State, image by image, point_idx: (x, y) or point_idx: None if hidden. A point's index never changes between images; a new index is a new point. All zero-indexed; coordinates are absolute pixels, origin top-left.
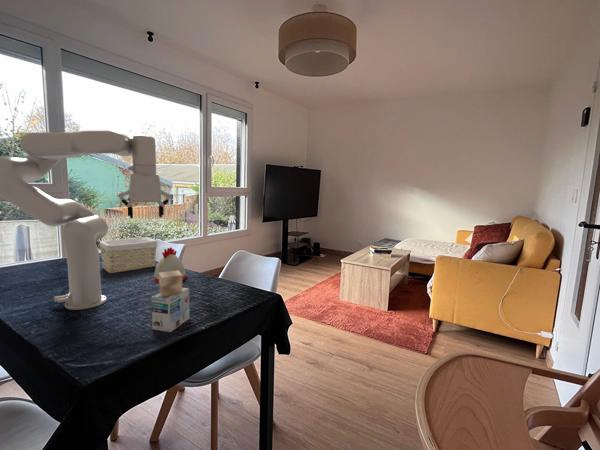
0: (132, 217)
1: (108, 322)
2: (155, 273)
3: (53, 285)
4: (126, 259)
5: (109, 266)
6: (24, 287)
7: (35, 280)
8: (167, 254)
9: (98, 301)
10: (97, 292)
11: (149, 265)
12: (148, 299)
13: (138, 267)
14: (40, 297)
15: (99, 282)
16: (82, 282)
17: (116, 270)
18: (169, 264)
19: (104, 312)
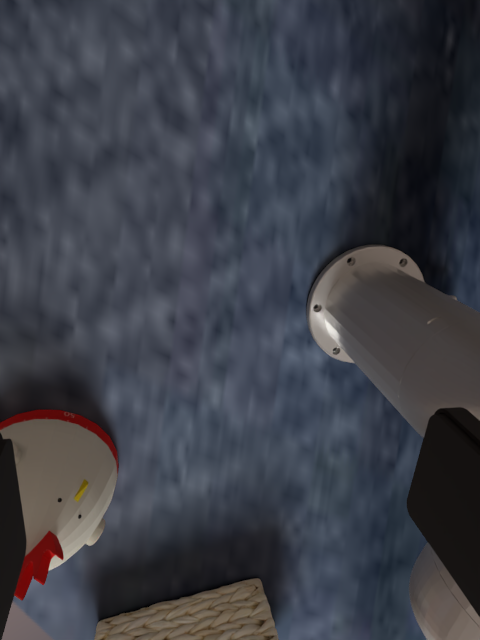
0: (441, 413)
1: (333, 60)
2: (111, 476)
3: None
4: (209, 635)
5: (266, 600)
6: None
7: None
8: (34, 553)
9: (338, 276)
10: (354, 290)
11: (118, 620)
12: (168, 240)
13: (162, 606)
14: None
15: (360, 316)
16: (431, 290)
17: (239, 587)
18: (38, 484)
19: (329, 179)
